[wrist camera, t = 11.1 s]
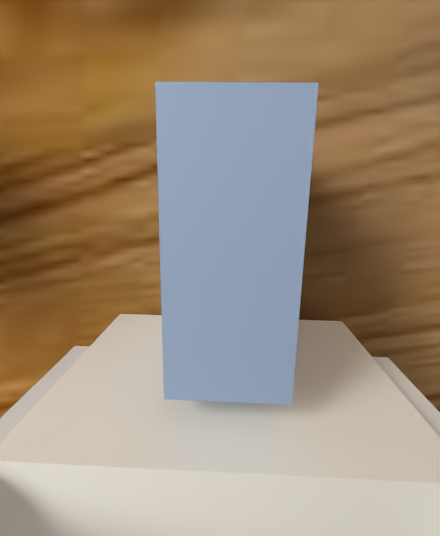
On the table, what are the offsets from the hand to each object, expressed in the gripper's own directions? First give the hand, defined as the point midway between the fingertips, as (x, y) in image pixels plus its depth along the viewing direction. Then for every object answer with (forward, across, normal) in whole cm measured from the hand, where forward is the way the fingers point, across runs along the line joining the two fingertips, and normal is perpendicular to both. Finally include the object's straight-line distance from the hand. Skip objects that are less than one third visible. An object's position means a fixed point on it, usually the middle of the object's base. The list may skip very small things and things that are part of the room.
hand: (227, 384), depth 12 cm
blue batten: (+4, 0, 0) cm, 4 cm away
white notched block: (+3, 0, 0) cm, 3 cm away
